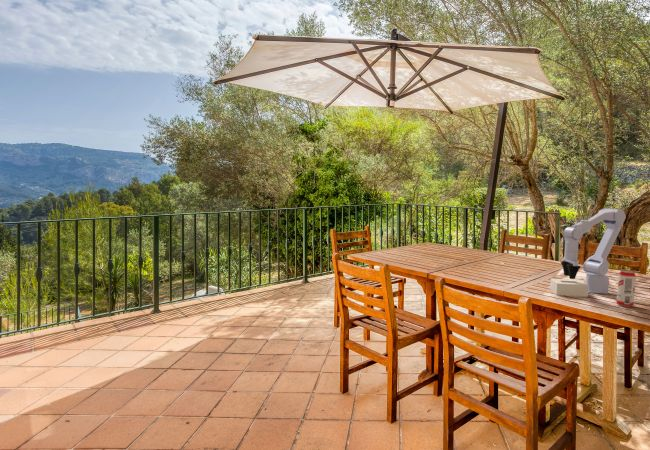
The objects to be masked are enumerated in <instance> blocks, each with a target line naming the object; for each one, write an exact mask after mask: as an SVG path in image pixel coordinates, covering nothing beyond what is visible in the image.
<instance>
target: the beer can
mask: <svg viewBox="0 0 650 450" xmlns="http://www.w3.org/2000/svg"><path fill="white" fill-rule="evenodd" d="M636 280H637V276H636V273H635V271H633V270H627V269H626V270H625V269H621V270H620V272H619V273H618V279H617V291H616V300H615V301H616V304H617V305H618V306H620V307H625V308H632V307H634V306H635V305H634V303H635V294H636V292H635V291H636Z"/></svg>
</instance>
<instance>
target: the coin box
mask: <svg viewBox="0 0 650 450" xmlns="http://www.w3.org/2000/svg"><path fill="white" fill-rule="evenodd" d="M549 287H550V288H549V291H551V292H552V293H553V294H555V295H556V296H564V295H565V296H567V297H584V298H588V297H589V293H588V288H589V285H588V284H586V282H584V281H582V280H580V279H579V280H578V279H565V278H564V279H562V278H550V286H549ZM565 296H564V297H565Z"/></svg>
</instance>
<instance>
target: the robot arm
mask: <svg viewBox="0 0 650 450" xmlns="http://www.w3.org/2000/svg"><path fill="white" fill-rule="evenodd" d="M626 218H627V217H626V213H625V211H624V210H623V209H621V208H619V209H615V208H606V207H605V208H602V209H600V210H598V213H596V214H595V215H593V216H592V217H590V218H588V219H580V220H579V222H577V223H576V224H573V225H572V226H568V227H565V228H564V230H563V232H562V235H563V239H564V256H563V258H561V261H560V264H561V266H562V269H563V275H564V276H568V277H569V278H568V279H569V280H576V277H577V274H578V271H579V270H580V269H581V265H579V261H578V256H579V254H578V253H579V242H580V239H582V237H583V235H584V234H586V233H587V232H589V231H590V230H592V229H593V226H595V225H597V224H599V223H601V222H602V223H603V225H604V226H606V230H605V232H604V233H603V236H602V238H601V240H600V242H599V244H598V245H597V248H596V250H595V252H594V254H593V255H591V256H589V257H588V258H587V259H586V260H585V261H584V263H583V266H582V269H583V271H584V273H585V274H586V275H585V283H586V284H588V285H589V288H588V294H607V295H609V294H610V292H609V290H610V289H609V287H610V278H609V276H608V275H607V273H608V272H609V271H608V270H609V266H610V261H608V256H609V254H610V253H611V250H612V248H613V246H614V244H615V242H616V240H617V237H618V236H619V234H620V232H621V230H622V226H623V224H624V223H625V220H626Z"/></svg>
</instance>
